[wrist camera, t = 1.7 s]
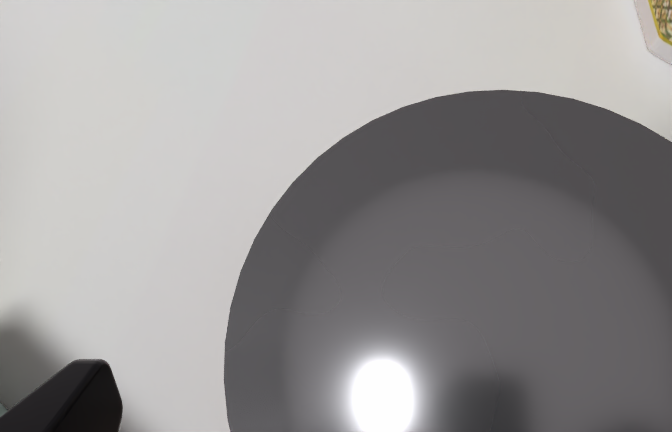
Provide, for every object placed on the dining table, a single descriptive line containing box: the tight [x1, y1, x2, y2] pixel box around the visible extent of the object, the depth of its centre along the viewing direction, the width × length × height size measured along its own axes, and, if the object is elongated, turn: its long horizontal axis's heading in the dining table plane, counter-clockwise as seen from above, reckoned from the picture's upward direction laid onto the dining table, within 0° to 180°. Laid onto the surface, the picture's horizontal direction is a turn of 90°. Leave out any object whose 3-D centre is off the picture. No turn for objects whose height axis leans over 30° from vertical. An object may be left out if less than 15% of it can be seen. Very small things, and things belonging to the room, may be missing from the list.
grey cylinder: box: [224, 90, 672, 432], centre depth 9 cm, size 4×4×12 cm
